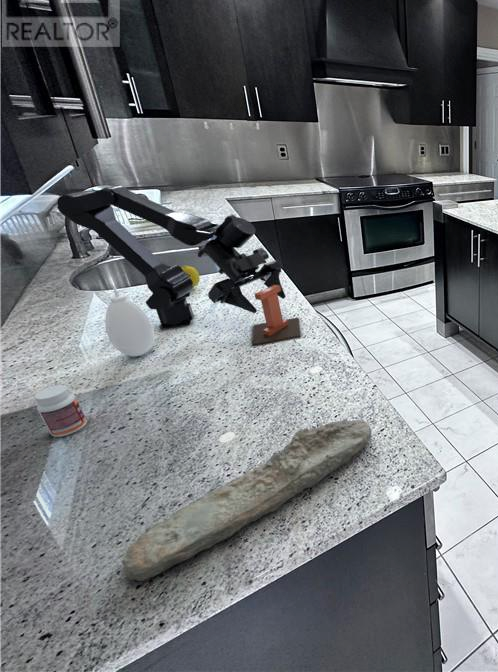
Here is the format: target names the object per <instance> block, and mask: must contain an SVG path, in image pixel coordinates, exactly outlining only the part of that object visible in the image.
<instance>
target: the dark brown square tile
mask: <svg viewBox="0 0 498 672" xmlns="http://www.w3.org/2000/svg"><path fill="white" fill-rule="evenodd" d="M286 320H287V322H288V326H286V327H284V328H282V329H281V330H279V331H277V332H276V333H274V334H272V335H270V336H267V335H264V332H263V330H264V329H266V328H268V327H267V325H266V322H264V323H258V324H253V329H252V342H251V345H252V346H253V347H254V346H259V345H266V344H270V343H275V342H280V341H286V340H290V339H291V340H292V339H297V338H301V337H302V336H301V329H300V320H299V317H294V318H293V317H292V318H288V319H286Z"/></svg>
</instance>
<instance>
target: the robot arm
mask: <svg viewBox="0 0 498 672" xmlns="http://www.w3.org/2000/svg"><path fill="white" fill-rule="evenodd" d="M56 201H57V202H56V204H57V207H56V208H57V210H58V211H59V213H60V214H61V215H63V216H64V217H65V218H67V219H68V220H70V221H71V222H73V224H76V225H78V226H79V227H83V228H86V229H88V230H90V231H93V232H94V233H96V234H97V235H98V236H100V238H102V240H104V241H105V242H106V243H107V244H108V245H110V246H111V248H113V249H114V250H115V251H116V252H117V253H118V254H119V255H120V256H121V257H123V258H124V259H125V260H126V261H127V262H128V263H129V264H130V265H132V267H134V268H135V269H136V270H137V271H138V272H139V273H141V275H143V277H144V279H145V282H146V287H147V288H148V290H149V291H150V293H152V294H151V295H150V296H149V298H148V299H147V300H146V301H145V304H146V306H147V307H148V309H150V310H155V311H156V314H157V317H158V320H159V322H160V325H159V329H160V330H166V329H167V330H168V329H174V328H179V327H185V326H190V325H191V323H192V321H193V320H194V317H195V314H194V311H193V307H192V304H191V303H189V302H188V300H187V298H188V297H190V296H191V292H192V290H193V289H194V288H193V282H192V280H191V279H190V278H189V277H190V275H188V274H187V273H185V272H184V271H183V269H182V266H180V265H178V264H176V265H173V266H170V265H167V264H165V263H164V262H162V261H161V260H160V259H159V258H158V257H157V256H156V255H155V254H154V253H153V252H151V250H149V248H147V247H146V246H145V245H144V244H143V243H142V242H141V241H140V240H139V239H138V238H137V237H135V236H134V235H133V234H132V233H131V232H130V231H129V230H127V228H126V227H124V226H123V225H122V223H120V221H118V220H117V218H116V215H115V212H114V208H113V207H115V208H118V209H120V210H122V211H125V212H127V213H129V214H131V215H133V216H135V217H138V218H141V219H143V220H145V221H147V222H149V223H151V224H154V225H157V226H158V227H161V228H163V229H164V230H166V231H167V232H168V233H169V235H170V236H171V237H172V238H174V239H175V240H177V241H178V242H180V243H182V244H184V245H186V246H190V247H193V246H197V245H199V244H202V243H204V242H206V241H207V242H206V243H205V245H200V246H198V251H197V257H198V258H203V257H208V258H209V259H210V260H212V261H213V262H214V264H215V265H216V266H217V267H218V268H219V270H218V273H219V274H220V275H223V274H225V275H226V277H228V278H224V279H222V280H219V281H218V282H215V283H214V284H213V285H212V287H211V289H210V290H209V291H208V293H207V296H208V299H209V300H210V301H211V302H212V303H213V304H216V303H220V304H221V305H222V304H228V305H230V306H234V307H237V308H240V309H242V310H245V311H247V312H250V313H252V314H256V313H257V312H258V309H256V307H255V306H254V304H252V302H250V300H249V299H248V298H247V297H246V296H245V294H243V292H242V290H241V289H242V288H241V287H243V286H246V285H248V284H250V283H253V282H255V281H257V280H260V281H262V282H263V285H264V286H266V287H267V288H269V287H271V286H273V285H279V286H280V288H281V291H280V292H277V295H278V298H281V299H282V300H284V299H286V294H285V291H284V289H283V286H282V283H281V280H280V274H281V272H282V269H283V268H284V265H283V264H282V263H281V262H280V261H278V260H272V261H269V262H267V261H266V260H267V259H269V258H270V256H269V253H268V252H267V251H266V250H265V249H264V248H263V247H259V248H256V249H253V251H252V253H251V254H250V255H247V254H245V253H240V252H238V251H237V249H240V248H242V247H243V246H244V245H245V244H246V243H247V242H248V241H249V240H250V239H251V238H252V237H253V236H254V235H255V234H256V227H255V226H254V224H253V223H252V222H250V221H249V220H246V219H245V218H242V217H238V216H236V215H234V214H233V213H232V214H229V215H227V216H226V217H225V218H224V221H223V222H222V223H216V222H212V221H210V220H208V218H204V217H201V216H198V215H195V214H192V213H191V214H190V213H182V212H178V211H174V210H173V209H171V208H169V207H166V206H164V205H161V204H160V203H157V202H155V201H153V200H151V199H149V198H147V197H144V196H142V195H140V194H138V193H135V192H133V191H131V190H129V188H127V187H125V186H123V185H113V186H112V185H111V186H108V187H103V188H101V189H100V190H90V189H88V190H82V191H77V192H73V193H68V194H62V195H60V196H59V197H58V198H57V200H56ZM213 238H214V239H213ZM262 264H263V265H262ZM260 265H262V266H261V268H260ZM259 268H260V269H259ZM258 269H259V270H258ZM257 270H258V271H257ZM192 288H193V289H192Z"/></svg>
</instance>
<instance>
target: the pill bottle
mask: <svg viewBox="0 0 498 672" xmlns="http://www.w3.org/2000/svg"><path fill="white" fill-rule="evenodd" d="M34 400H35V401H36V403H37V406H36V410H37V413H38V414H39V416H40V417H41V419H42V421H43V423H44V425H45V427H46V429H47V430H48V431H49V434H50V435H51V436H52V437H55V438H61V437H66V436H69V435H72V434H74V433H76V432H78V431H80V430H82V429H83V428H84V427H85V426H86V424H87V423H88V420H87V418H86V416H85V414H84V412H83V409H82V408H81V405H80V404H79V402H78V399H77V397H76V395H75V394H73V393H71V391H70V390H69V388H68V386H67V385H64V384H57V385H53V386H50V387H47V388H44V389H42V390H40V391H38V392H37V393H36V394H35V395H34Z"/></svg>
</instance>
